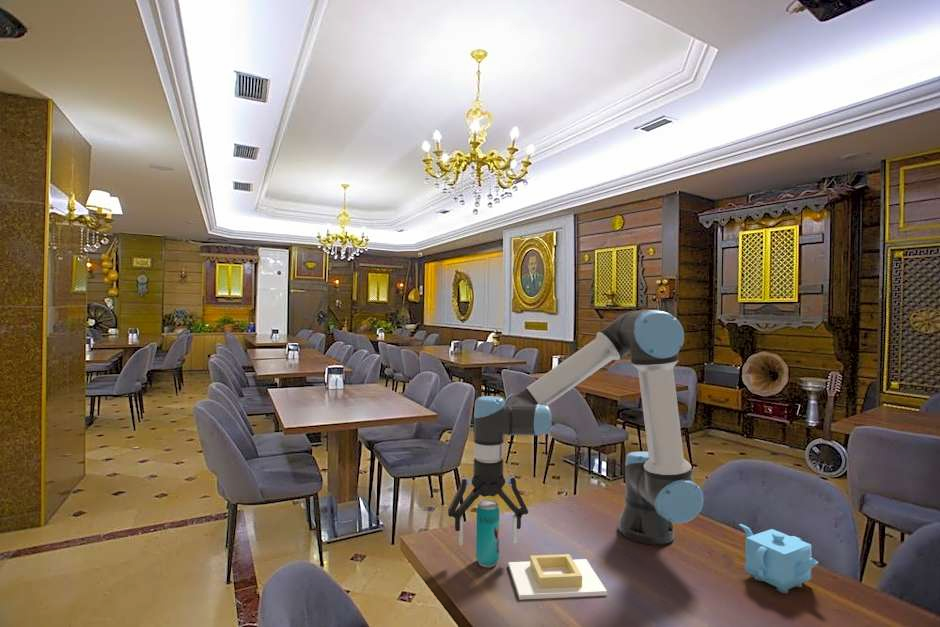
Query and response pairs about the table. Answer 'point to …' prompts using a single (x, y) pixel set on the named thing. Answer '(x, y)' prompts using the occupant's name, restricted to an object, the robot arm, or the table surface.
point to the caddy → (555, 577)
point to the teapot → (778, 559)
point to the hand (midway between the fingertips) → (487, 542)
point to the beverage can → (487, 533)
